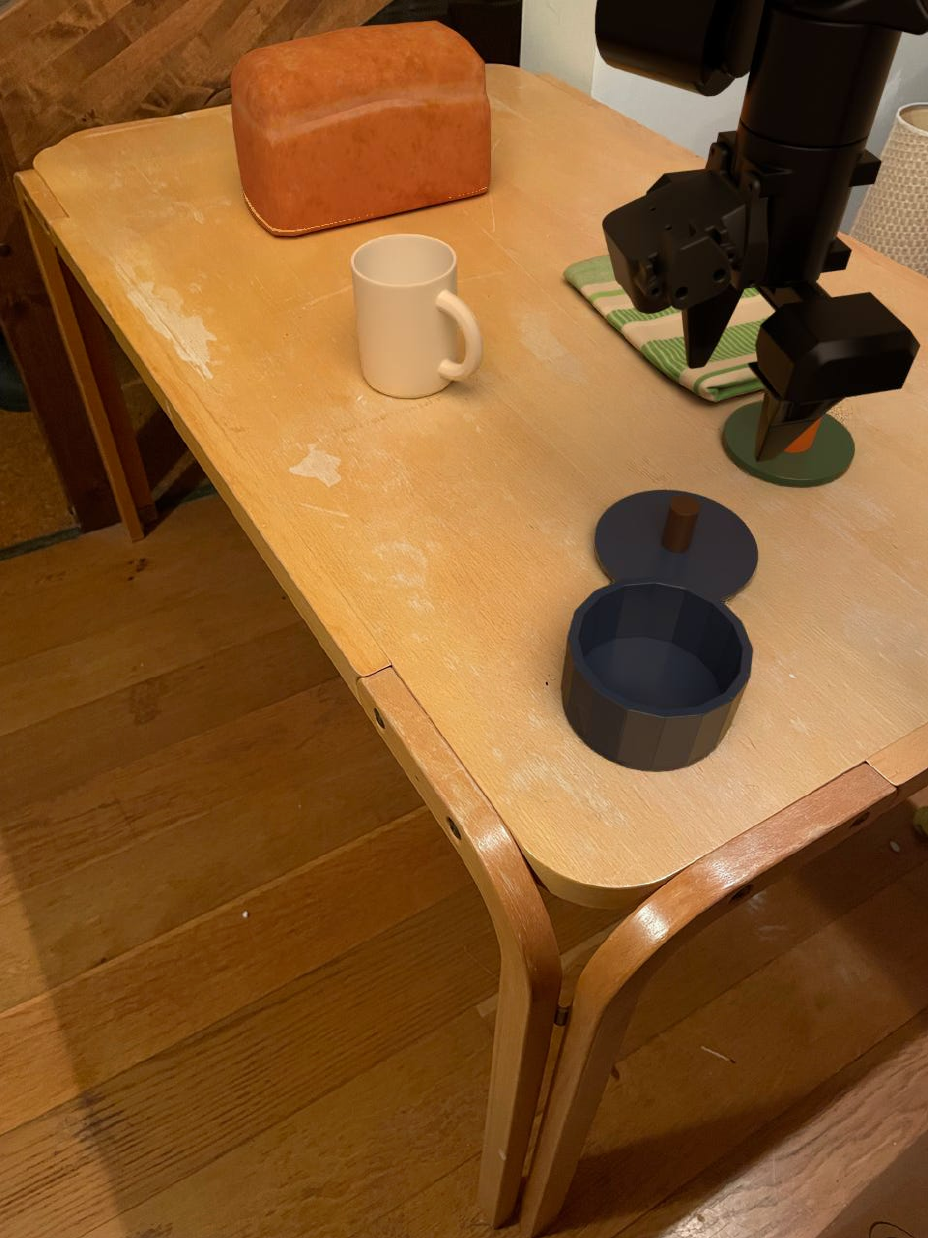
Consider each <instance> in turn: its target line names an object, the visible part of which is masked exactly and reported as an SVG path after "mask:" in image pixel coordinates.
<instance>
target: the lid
mask: <svg viewBox="0 0 928 1238" xmlns="http://www.w3.org/2000/svg"><path fill="white" fill-rule="evenodd" d="M593 548H594V553H595V556H596V559H597V561H598V563H599V565H600V567H601V568H602V570H603V571H604V573H606V575H607V576H608V577H609V578H610V580H612V582H616V581H618V580H620V579H624V578H636V577H648V576H657V577H662V578H667V579H672V580H677V581H682V582H687V583H690V584H692V585H694V586H696V587H698V588H700V589H702V590H704V591H706V592H708V593H710V594H712V595H714V596H716V597H718V598H719V599H720V600H721V601H722V602H723V603H724V602H726V601H727V600H730V599H732V598H734V597H735V596H736V595H737V594H739V593H741V592H742V591H743V590H744V589H745V588H746V587H747V586H748V585H749V583H750V582H751V580H752V579H753V578H754V575H755V573H756V570H757V567H758V563H759V549H758V544H757V540H756V538H755V536H754V534H753V532H752V530H751V528H750V527H749V526H748V525H747V523H746V522H745V521H744V520H743V519H742V518H741V517H740V516H739V515H737V514H736V513H735V512H734V511H733V510H731V508H728V507H727V506H726V505H724V504H722V503H720V502H718V501H716V500H714V499H712V498H710V497H707V496H705V495H701V494H697V493H693V492H689V491H685V490H679V489H651V490H645V491H640V492H636V493H633V494H629V495H627V496H625V497H623V498H621V499H618V501H615V502H614V503H613V504H611V506H609V507H608V508H607V509H606V510H605V511H604V512H603V514H602V515H601V516H600V517H599V519H598V521H597V523H596V526H595V530H594V536H593Z"/></svg>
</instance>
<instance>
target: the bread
mask: <svg viewBox="0 0 928 1238" xmlns="http://www.w3.org/2000/svg"><path fill="white" fill-rule="evenodd" d="M486 78H487V77H486V62H485V60H484V59H483V58H482V57H481V56H480V54H479V53H478V52H477V51H476V49H475V48H474V47H473V46H472V45H471V43H470V42H469V41H468V40H467V39H466V38H465V37H464V36H463V35H461V34H460V33H458V32H457V31H456V30H454V29H452V28H450V27H448V26H447V25H445V24H443V23H441V22H439V21H438V20H428V21H411V22H401V23H391V24H390V23H389V24H374V25H364V26H352V27H343V28H339V29H335V30H331V31H327V32H323V33H320V34H319V33H318V34H316V35H315V34H314V35H312V36H306V37H300V38H295V39H291V40H287V41H282V42H279V43H274V44H271V45H267V46H263V47H259V48H255V49H253V50H251V51H249V52H247V53H245V54H243V55H242V56H240V59H238V61H237V63H236V64H235V66H234V67H233V69H232V71H231V75H230V80H229V81H230V90H231V105H230V111H231V125H232V135H233V139H234V147H235V153H236V160H237V165H238V171H239V177H240V183H241V188H242V187H243V189H242V194H243V198H244V202H245V205H246V206H247V208H248V210H249V211H250V214H251V216H252V217H254V219H255V220H256V221H257V222H258V224H259V225H260V226H261V227H262V228H264V229H265V230H266V231H268V232H269V233H270V234H272V235H273V236H280V237H281V236H282V237H283V236H285V237H296V236H300V235H305V234H309V233H312V232H317V231H322V230H326V229H330V228H334V227H340V226H343V225H348V224H353V223H358V222H362V221H367V220H372V219H376V218H380V217H385V216H389V215H393V214H398V213H402V212H406V211H411V210H416V209H419V208H424V207H428V206H434V205H439V204H442V203H447V202H452V201H456V200H461V199H465V198H470V197H473V196H478V195H481V194H485V193H486V192H487V191H488V190H489V188H490V186H491V184H492V183H490V182H492V111H491V104H490V99H489V96H488V93H487V79H486ZM488 186H489V187H488ZM485 187H487V188H485ZM482 188H485V189H482ZM481 189H482V190H481ZM479 190H480V191H479ZM243 191H244V193H245V195H246V197H247V198H248V200H249V202H250V203H251V205H252V207H254V209H255V210H256V212H257V213H258V214H259V215H260V217H261V218H262V219H263V220H264V221H265V222H266V223H267V224H268V225H269V226H271V227H272V228H276V229H281V230H297V229H304V228H305V229H307V228H311V227H315V226H320V227H315V228H311V229H307V230H302V231H295V232H278V231H272V230H271V229H270V228H268V227H267V226H266V225H265V224H264V223H263V222H262V221H261V220H260V219H259V218H258V217H257V216H256V214H255V213H254V212H253V211H252V209H251V207H250V206H249V204H248V202H247V201H246V199H245V196H244V193H243ZM476 191H477V192H476ZM472 192H473V193H472ZM468 193H469V194H468ZM463 194H464V195H463ZM459 195H460V196H459ZM449 197H451V198H449ZM372 214H373V215H372ZM367 215H368V216H367ZM359 217H360V218H359ZM354 218H355V219H354ZM348 219H351V220H348ZM343 220H346V221H343ZM339 221H342V222H339ZM334 222H337V223H334ZM330 223H333V224H330ZM324 224H329V225H324ZM321 225H324V226H321Z"/></svg>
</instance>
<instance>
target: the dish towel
mask: <svg viewBox="0 0 928 1238" xmlns="http://www.w3.org/2000/svg"><path fill="white" fill-rule="evenodd" d="M562 276H564V278H565V280H566V281H567V282H569V283H570V284H571V285H572V286H574V287H575V288H576V290H577V291H579V292H580V293H581V295H583V297H584V298H585V299H587V301H588V302H589V303H590V304H591V306H592V307H594V308H595V309H596V310H597V312H599V313H600V315H601V316H602V317H603V318H604V319H605V320H606V321H607V322H608V323H609V325H611V326H612V327H613V329H615V330H617V332H618V333H620V334H621V335H623V336H624V338H625V339H626V340H627V341H628V342H629V343H630V344H631V345H632V346H633V347H634V348H635V349H636V350H637V351H638V352H640V354H641V355H643V356H644V358H646V359H647V360H648V361H649V362H650V363H651V364H653V366H655V367H656V368H657V369H658V370H659V371H661V372H662V373H663V374H664V375H665V376H667V377H668V378H670V379H672V380H673V381H674V382H676V383H678V384H679V385H681V386H682V387H685V388H687V389H688V390H690V392H693V393H694V394H695V395H697V396H699V397H701V398H703V399H705V400H707V401H710V402H713V403H717V402H720V401H723V400H727V399H730V398H734V397H737V396H742V395H746V394H749V393H752V392H756V391H761V390H765V387H764V386H763V385H762V383H761V382H760V381H759V379H758V378H757V377H756V376H755V374H754V373H753V372H752V371H751V369H750V368H749V367H748V363H751V362H757V355H756V348H755V343H756V339H757V336H758V332H759V328H760V325H761V324H762V323H763V322H764V321H765V320H766V319H767V318H769V317H770V316H771V315H772V314H773V313H774V312H775V310H774V309H773V308H772V307H771V306H770V305H769V304H768V302H767V301H766V300H765V299H764V298H763V297H762V296H761V295H760V293H759V292H758V291H757V290H756V289H755V288H748V289H745V290H744V292H743V294H742V296H741V298H740V300H739V302H738V304H737V306H736V308H735V310H734V313H733V315H732V317H731V319H730V321H729V323H728V325H727V327H726V329H725V331H724V333H723V335H722V337H721V339H720V341H719V343H718V345H717V347H716V349H715V350H714V352H713V354H712V356H711V357H710V359H709V361H708V362H707V364H706V366H704V367H702V368H696V369H690V368H689V367H688V365H687V362H686V352H685V343H684V333H683V323H682V314H681V312H682V311H681V310H678V309H675V308H673V307H672V306H671V307H670V308H668V309H666V310H663V311H661V312H658V313H654V314H644V313H641V312H639V311H637V310H636V308H635V307H634V306H633V304H632V301H631V299H630V298H629V296H628V295H627V293H626V292H625V291H624V289H623V288H622V286H621V285H619V284H618V283H617V281H616V280H615V276H614V272H613V268H612V264H611V260H610V256H609V254H603V255H598V256H594V257H591V258H588V259H583V260H580V261H578V262H575V263H572V264H570V265H568V266H567V267H566V268H565V270H564V271H563V272H562Z"/></svg>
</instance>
